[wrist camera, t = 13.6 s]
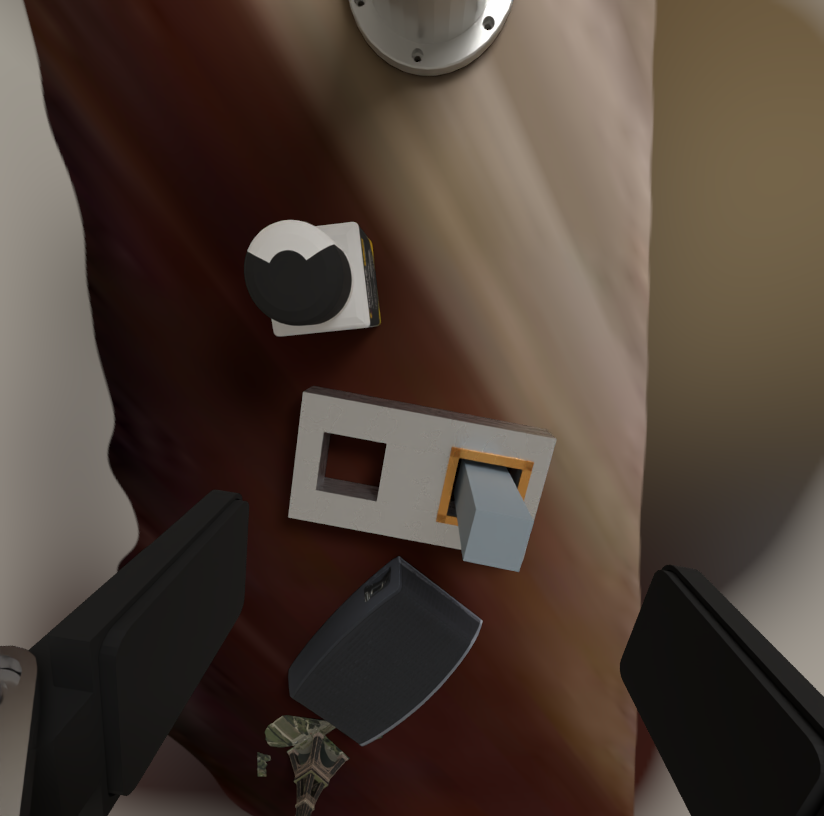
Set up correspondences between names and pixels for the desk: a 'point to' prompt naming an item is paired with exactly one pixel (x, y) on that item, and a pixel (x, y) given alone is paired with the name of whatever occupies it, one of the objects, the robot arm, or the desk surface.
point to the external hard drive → (383, 653)
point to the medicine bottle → (313, 277)
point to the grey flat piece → (406, 464)
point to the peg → (491, 516)
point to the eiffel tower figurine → (305, 756)
